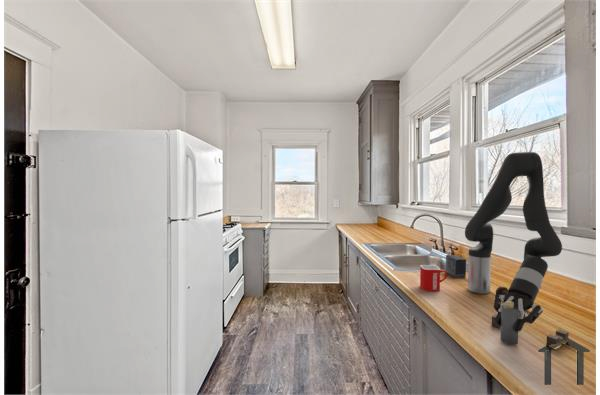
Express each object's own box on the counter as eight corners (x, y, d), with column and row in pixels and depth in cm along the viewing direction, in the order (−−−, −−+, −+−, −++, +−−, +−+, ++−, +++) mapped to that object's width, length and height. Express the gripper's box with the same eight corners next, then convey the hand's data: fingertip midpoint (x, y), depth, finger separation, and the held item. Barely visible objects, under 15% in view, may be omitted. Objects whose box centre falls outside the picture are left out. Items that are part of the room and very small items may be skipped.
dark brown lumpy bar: (523, 315, 127) (499, 300, 142) (534, 309, 127) (508, 294, 142) (517, 303, 127) (493, 289, 142) (528, 297, 127) (503, 284, 142)
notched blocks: (504, 319, 119) (504, 310, 119) (568, 342, 102) (568, 332, 102) (491, 325, 114) (491, 316, 114) (555, 350, 97) (556, 339, 97)
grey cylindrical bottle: (505, 336, 105) (506, 298, 104) (520, 342, 101) (522, 303, 100) (497, 339, 103) (498, 301, 102) (513, 346, 98) (514, 306, 98)
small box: (466, 278, 170) (467, 259, 170) (455, 278, 170) (455, 259, 169) (455, 272, 181) (456, 254, 180) (444, 272, 180) (445, 254, 180)
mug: (423, 291, 150) (424, 269, 150) (418, 285, 158) (419, 264, 158) (449, 291, 149) (449, 270, 148) (443, 286, 157) (443, 265, 157)
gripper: (499, 272, 111) (479, 313, 105) (547, 283, 98) (527, 330, 93) (507, 284, 114) (488, 324, 108) (554, 297, 101) (535, 342, 96)
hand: (506, 327), depth 101 cm, fingers closed on grey cylindrical bottle, 4 cm apart
